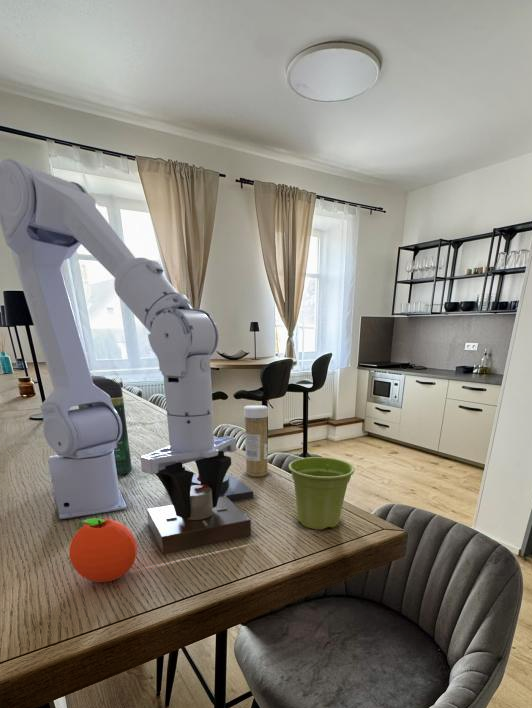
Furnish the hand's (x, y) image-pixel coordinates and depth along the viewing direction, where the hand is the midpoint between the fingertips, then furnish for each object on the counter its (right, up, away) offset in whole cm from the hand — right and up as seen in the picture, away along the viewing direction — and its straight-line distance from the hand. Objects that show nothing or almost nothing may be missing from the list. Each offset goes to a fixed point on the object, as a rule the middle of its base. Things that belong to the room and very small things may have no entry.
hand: (196, 510), depth 57 cm
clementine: (-8, -7, -10) cm, 15 cm away
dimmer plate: (0, -3, +1) cm, 3 cm away
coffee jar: (-23, +7, +26) cm, 35 cm away
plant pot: (+17, -2, +4) cm, 18 cm away
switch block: (-1, +2, +14) cm, 15 cm away
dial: (0, 0, 0) cm, 0 cm away
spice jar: (+7, +7, +25) cm, 27 cm away
